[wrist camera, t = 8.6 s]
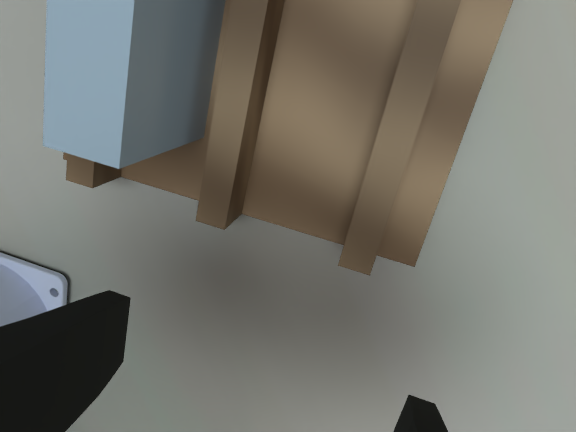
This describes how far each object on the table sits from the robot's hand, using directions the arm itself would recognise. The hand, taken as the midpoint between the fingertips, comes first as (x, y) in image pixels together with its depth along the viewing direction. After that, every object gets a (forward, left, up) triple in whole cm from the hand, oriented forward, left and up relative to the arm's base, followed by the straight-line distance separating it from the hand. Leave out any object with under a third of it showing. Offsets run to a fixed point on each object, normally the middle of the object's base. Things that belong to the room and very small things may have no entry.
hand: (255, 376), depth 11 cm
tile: (+8, +7, -8) cm, 13 cm away
